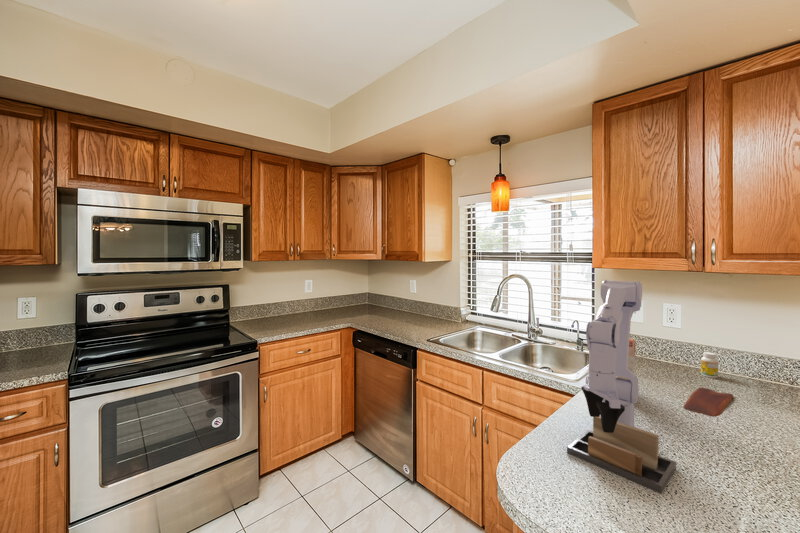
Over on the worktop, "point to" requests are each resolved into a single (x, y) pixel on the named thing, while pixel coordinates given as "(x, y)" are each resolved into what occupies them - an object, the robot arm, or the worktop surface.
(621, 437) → the birch sheet
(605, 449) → the oak offcuts
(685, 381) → the worktop surface
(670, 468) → the rack
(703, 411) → the reddish brown cloth
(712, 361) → the supplement bottle
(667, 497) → the worktop surface
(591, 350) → the robot arm
